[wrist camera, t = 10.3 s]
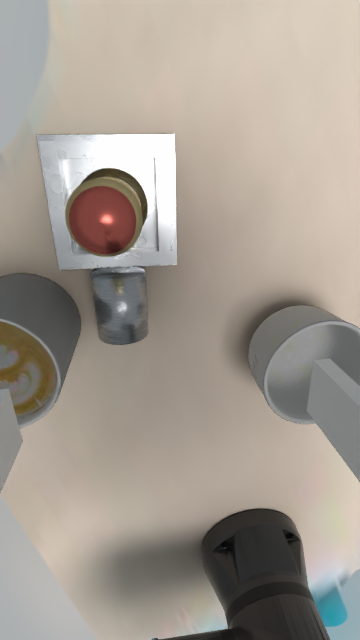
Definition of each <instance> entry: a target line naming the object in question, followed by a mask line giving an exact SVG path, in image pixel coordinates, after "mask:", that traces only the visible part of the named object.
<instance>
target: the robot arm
mask: <svg viewBox="0 0 360 640" xmlns="http://www.w3.org/2000/svg"><path fill="white" fill-rule="evenodd" d="M307 412H308V413H309V414H310V416H311V417H312V418H313V420H314V421H315V422H316V424H317V425H318V426H319V428H320V429H321V430H322V432H323V433H324V434H325V436H326V437H327V438H328V440H329V441H330V442H331V444H332V445H333V447H334V448H335V449H336V451H337V452H338V453H339V455H340V456H341V457H342V459H343V460H344V461H345V463H346V464H347V465H348V467H349V468H350V469H351V471H352V472H353V473H354V475H355V476H356V477H357V479H358V480H359V482H360V386H359V385H358V384H357V383H356V382H355V381H354V380H352V379H351V378H350V377H349V376H348V375H347V374H346V373H345V372H344V371H343V370H342V369H341V368H339V367H338V366H337V365H336V364H335V363H334V362H333V361H332V360H331V359H320V360H313V368H312V375H311V383H310V390H309V398H308V405H307ZM22 442H23V440H22V437H21V433H20V429H19V426H18V422H17V418H16V415H15V411H14V407H13V403H12V400H11V396H10V392H9V389H0V493H1V490H2V488H3V486H4V483H5V481H6V479H7V477H8V474H9V472H10V470H11V467H12V465H13V463H14V460H15V458H16V456H17V454H18V451H19V449H20V447H21V444H22ZM201 553H202V559H203V565H204V569H205V572H206V574H207V577H208V579H209V581H210V583H211V585H212V587H213V589H214V591H215V593H216V595H217V597H218V599H219V601H220V603H221V605H222V607H223V609H224V611H225V615H226V619H227V624H228V629H225V630H218V631H211V632H205V633H198V634H192V635H186V636H179V637H173V638H166V639H159V640H330V638H329V636H328V633H327V631H326V629H325V626H324V624H323V621H322V619H321V616H320V614H319V612H318V609H317V607H316V605H315V602H314V600H313V598H312V595H311V593H310V590H309V587H308V582H307V575H306V567H305V560H304V552H303V545H302V540H301V537H300V535H299V533H298V531H297V528H296V526H295V524H294V522H293V521H292V520H291V519H290V518H289V517H287V516H286V515H284V514H282V513H280V512H276V511H272V510H251V511H246V512H242V513H239V514H236V515H233V516H231V517H229V518H227V519H225V520H223V521H221V522H220V523H219V524H217V525H216V526H215V527H214V528H212V529H211V530H210V532H209V533H208V534H207V535H206V537H205V539H204V541H203V543H202V547H201ZM152 640H158V638H153V639H152Z"/></svg>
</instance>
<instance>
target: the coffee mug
mask: <svg viewBox="0 0 360 640" xmlns="http://www.w3.org/2000/svg"><path fill="white" fill-rule="evenodd" d="M80 330H81V320H80V314H79V311H78V308H77V306H76V304H75V302H74V301H73V299H72V298H71V296H70V295H69V294H68V293H67V292H66V291H65V290H64V289H63V288H62V287H60V286H59V285H57V284H56V283H54V282H53V281H51V280H49V279H47V278H44V277H41V276H38V275H34V274H26V273H17V274H10V275H6V276H2V277H0V389H9V392H10V396H11V400H12V403H13V407H14V411H15V415H16V418H17V422H18V426H19V428H21V427H25V426H27V425H29V424H32V423H34V422H36V421H37V420H39V419H40V418H42V417H43V416H44V415H45V414H47V413H48V412H49V410H50V409H51V408H52V407H53V405H54V404H55V402H56V401H57V398H58V396H59V394H60V391H61V388H62V385H63V382H64V380H65V377H66V374H67V371H68V368H69V365H70V362H71V359H72V356H73V353H74V350H75V347H76V344H77V341H78V338H79V335H80Z"/></svg>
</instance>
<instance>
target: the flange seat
mask: <svg viewBox="0 0 360 640" xmlns="http://www.w3.org/2000/svg"><path fill="white" fill-rule="evenodd" d="M36 136H37V142H38V148H39V154H40V160H41V166H42V172H43V178H44V184H45V190H46V196H47V202H48V208H49V214H50V220H51V226H52V232H53V238H54V244H55V250H56V256H57V262H58V268H59V270H72V269H94V268H101V269H97V270H95V271H93V272H92V273H91V283H92V291H93V299H94V307H95V314H96V322H97V330H98V337H99V339H100V340H101V341H103V342H105V343H108V344H114V345H124V344H131V343H135V342H138V341H140V340H142V339H144V338H145V337H146V336H147V335H148V332H149V331H148V314H147V297H146V280H145V270H144V269H142V268H140V267H138V266H160V265H177V238H176V183H175V134H115V135H36ZM103 168H116V169H120V170H123V171H125V172H127V173H129V174H130V175H132V176H133V177H134V178H135V179H136V180H137V181H138V182H139V183H140V185H141V186H142V188H143V190H144V192H145V195H146V198H147V204H148V212H147V217H146V220H145V223H144V225H143V227H142V230H141V233H140V236H139V238H138V240H137V241H136V243H135V244H134V245H133V246H132V247H131V248H130V249H129V250H127V251H126V252H124V253H122V254H120V255H117V256H113V257H101V256H96V255H93V254H90V253H88V252H87V251H85V250H83V249H82V248H81V247H80V246H79V245H77V243H76V242H75V241H74V240H73V238H72V237H71V235H70V233H69V231H68V229H67V226H66V221H65V209H66V204H67V201H68V199H69V197H70V195H71V194H72V192H73V191H74V190H75V189H76V188H77V187H78V186H79V185H80V184H81V183H82V181H83V180H84V179H85V178H86V177H87V176H88V175H89V174H91V173H92V172H94V171H96V170H99V169H103Z"/></svg>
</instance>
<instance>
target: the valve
mask: <svg viewBox="0 0 360 640" xmlns="http://www.w3.org/2000/svg"><path fill="white" fill-rule="evenodd" d="M147 212H148V204H147V198H146V195H145V192H144V190H143V188H142V186H141V185H140V183H139V182H138V181H137V180H136V179H135V178H134V177H133V176H132V175H130V174H129V173H127V172H125V171H123V170H120V169H116V168H103V169H99V170H96V171H94V172H92V173H91V174H89V175H88V176H87V177H86V178H85V179H84V180H83V181H82V183H81V184H80V185H79V186H78V187H77V188H76V189H75V190H74V191H73V192H72V194H71V195H70V197H69V199H68V201H67V204H66V209H65V221H66V226H67V229H68V231H69V233H70V235H71V237H72V238H73V240H74V241H75V242H76V243H77V245H79V246H80V247H81V248H82V249H83V250H85V251H87V252H88V253H90V254H93V255H96V256H101V257H113V256H117V255H120V254H122V253H124V252H126V251H127V250H129V249H130V248H131V247H132V246H133V245H134V244H135V243H136V241H137V240H138V238H139V236H140V233H141V230H142V227H143V225H144V223H145V220H146V217H147Z"/></svg>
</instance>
